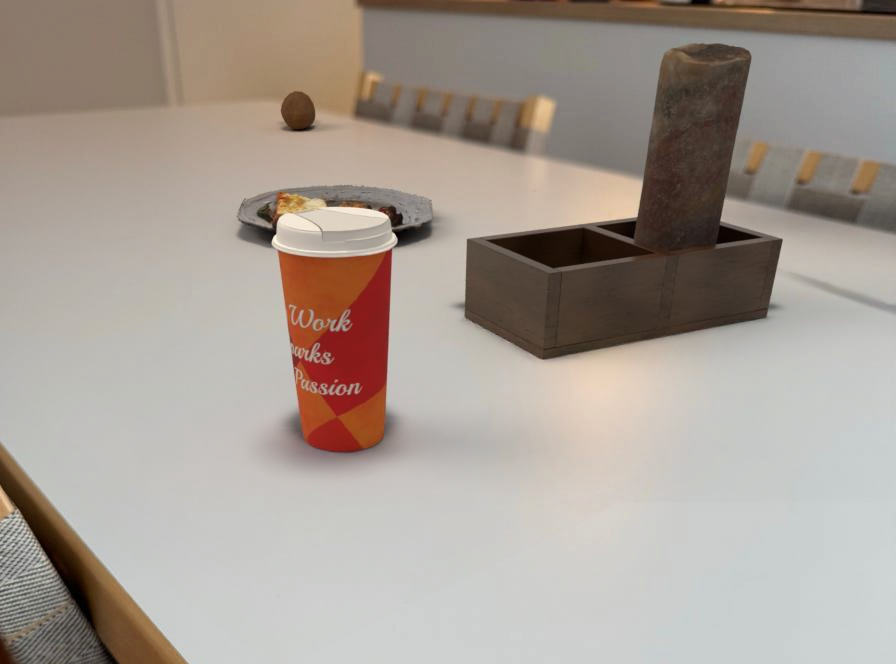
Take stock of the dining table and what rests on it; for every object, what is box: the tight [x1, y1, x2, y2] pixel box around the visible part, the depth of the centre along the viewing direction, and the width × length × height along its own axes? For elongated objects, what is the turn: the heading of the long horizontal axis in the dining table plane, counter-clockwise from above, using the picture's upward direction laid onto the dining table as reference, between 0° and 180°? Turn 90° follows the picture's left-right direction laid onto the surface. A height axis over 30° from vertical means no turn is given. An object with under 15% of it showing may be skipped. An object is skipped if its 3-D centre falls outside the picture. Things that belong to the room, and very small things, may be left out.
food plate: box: [236, 184, 434, 233], centre depth 116 cm, size 25×23×4 cm
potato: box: [280, 90, 316, 130], centre depth 183 cm, size 7×10×6 cm
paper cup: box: [271, 207, 398, 453], centre depth 62 cm, size 8×8×14 cm
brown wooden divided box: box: [464, 216, 784, 360], centre depth 86 cm, size 25×13×7 cm, turn 118°
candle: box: [634, 42, 753, 251], centre depth 84 cm, size 8×7×20 cm
